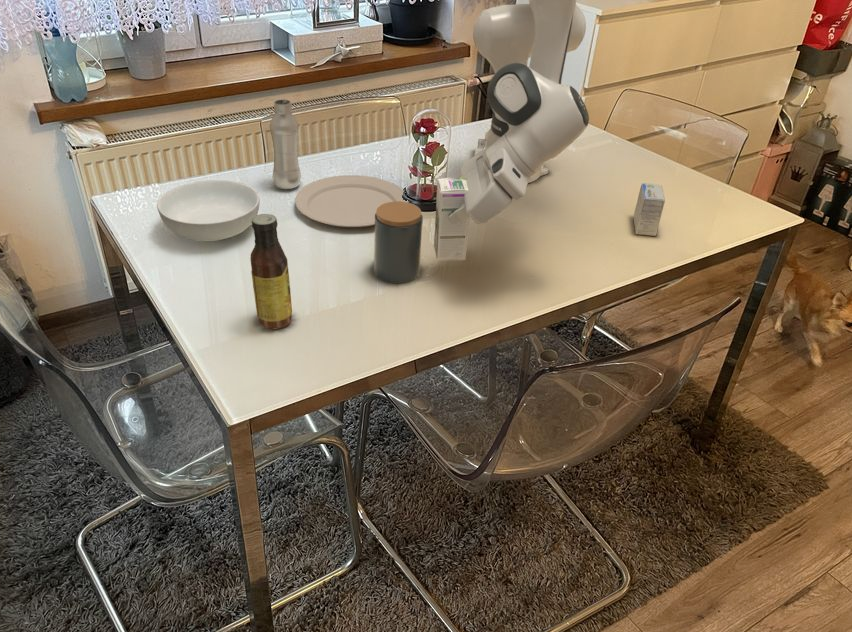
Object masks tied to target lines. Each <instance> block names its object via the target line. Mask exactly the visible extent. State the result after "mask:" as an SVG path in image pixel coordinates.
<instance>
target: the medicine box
mask: <svg viewBox="0 0 852 632" xmlns="http://www.w3.org/2000/svg"><path fill="white" fill-rule="evenodd" d="M665 202H666V198H665V193H664V190H663V185H662V184H656V183H646V182H645V183H644V182H643V183H641V185H640V188H639V192H638V196H637V200H636V204H635V208H634V213H633V218H632V219H633V224H634V232H635V235H641V236H651V237H655V236H657V233H658V229H659V226H660V222H661V218H662V214H663V211H664V206H665Z"/></svg>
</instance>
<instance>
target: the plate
mask: <svg viewBox="0 0 852 632" xmlns="http://www.w3.org/2000/svg"><path fill="white" fill-rule="evenodd" d="M404 191H405V190H404V189H403V188H402V187H400V186H398V185H397V184H395V183H394V182H391V181H389V180H386V179H383V178H379V177H373V176H370V175H369V176H368V175H358V174H357V175H356V174H355V175H354V174H346V175H335V176H334V175H333V176H328V177H324V178H320V179H317V180H314V181H312V182H310V183H307V184H306V185H305V186H303V187H301V189H299V190H298V192H297V193H296V195H295V198H294V202H295V207H296V208H297V210H298V211H299V212H300V213H301V214H302V215H304V216H305V217H307V218H309V219H311V220H312V221H315V222H318V223H322V224H326V225H330V226H335V227H341V228H363V227H364V228H365V227H371V226H375V214H376V211H377V208H378V207H379V206H380V205H382V204H385V203H388V202H396V201H399V202H407V203H410V200H409V201H408V200H407V201H405V200H403V198H402V195H403V192H404Z"/></svg>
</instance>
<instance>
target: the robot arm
mask: <svg viewBox="0 0 852 632" xmlns="http://www.w3.org/2000/svg"><path fill="white" fill-rule="evenodd" d="M586 30H587V22H586V17H585V15H584V13H583V11H582V9H581V8H580V7H579V6H578V5H577V0H528V3H516V4H515V3H514V4H512V3H511V4H501V5H497V6H493V7H490V8H486V9H483V10H482V11H481V12H480V13H479V14H478V16H477V18H476V20H475V22H474V25H473V29H472V39H473V42H474V46H475V48H476V50H477V51H478V53H479V54H480V55H481V56H482V57H483V58H485V60H487V62H488V63H489V64H490V66H491V67H492V70H493V72H494V74H493V76H492V77H491V79H490V81H489V82H488V86H487V91H486V98H487V99H486V100H487V102H488V104H489V107H490V108H491V110H492V112H493V115H492V117H491V121H490V122H491V124H490V128H489V129H488V130H487V131H486V132H485V133H484V138H478V140H477V147H475V149H474V155H473V156H472V157H471V158H469V159H468V160H467V161H466V162H464V163H463V164H462V165H461V167H460V168H459V171H460V178H466V181H467V186H468V191H467V192H466V193H465V195H464V201H465V203H464V204H463V205H462V206H461V208H459V209H457V210H456V211H455V210H453V211H452V212H451V213H449V214H448V221H449V222H450V223H451V224H456V223H457V222H458V221H460V220H462V219H465V218H468V217H469V219H471V220H472V221H473V223H475V224H476V225H477V226H478V225H479V226H480V225H484V224H485V223H486V224H487V222H489V221H490V220H492V219H493V218H494V217H496V216H497V215H498V214H500V213H501V212H503V211H504V210H505V209H506V208H507V207H508V206H509V205H510V204H511V203H512V201H513V200H514V202H518V201H519V200H521V199H522V198H523V197H524V196H526V193H527V192H526V191H527V188H528V184H529V183H533V182H535V181H537V180H539V178H540V177H543V176H545V175H547V174H549V168H548V167H547V166H546V165H545V163H547V162H548V161H550V160H552V159H555V158H556V157H558V156H559V155H560V154H562V152H564V151H565V150H566V149H567V148H568V147H569V146H571V145H572V144H573V143H574V142H575V141H576V140H577V139H578V138H579V137H580V136H581V135H582V134H583V133H584V132H585V131H586V129H587V127H588V126H589V122H590V117H589V111H588V109H587V106H586V104H585V102H584V100H583V99H582V97H581V95H580V93H579V92H578V91H577V89H575V88H574V87H573V86H572V85H568V84H567V85H566V84H562V79H563V74H564V68H565V63H566V57H567V53H570V52H573V51H576V50H577V49H578V48H579V47H580V45H581V44H582V42H583V40H584V38H585V35H586ZM529 59H530V60H529ZM528 61H529V62H528ZM528 63H529V66H528Z"/></svg>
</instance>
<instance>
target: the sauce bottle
mask: <svg viewBox="0 0 852 632" xmlns="http://www.w3.org/2000/svg"><path fill="white" fill-rule="evenodd" d="M251 228H252V230H253V235H254V247H253V249H252V251H251V253H250V259H249V260H250V267H251V281H252V287H253V295H254V304H255V311H256V316H257V321H258V322H259V324H260V325H261V326H262V327H263V328H266V329H269V330H277V329H278V330H279V329H281V328H285V327H286V326H288V325H289V324H290V323H291V322H292V320H293V305H292V304H293V303H292V294H291V293H292V292H291V282H290V274H289V273H290V272H289V263H288V261H289V260H288V257H287V255H286V254H285V251H284V249H283V247H282V245H281V243H280V241H279V238H278V237H279V236H278V230H277V229H278V220H277V217H276V216H275V215H274V214H270V213H261V214H257V216H255V217H253V218H252V224H251Z"/></svg>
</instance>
